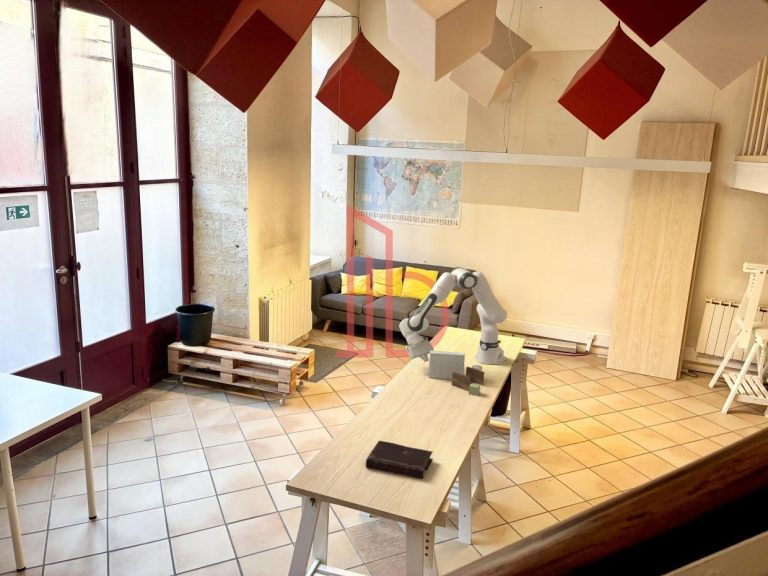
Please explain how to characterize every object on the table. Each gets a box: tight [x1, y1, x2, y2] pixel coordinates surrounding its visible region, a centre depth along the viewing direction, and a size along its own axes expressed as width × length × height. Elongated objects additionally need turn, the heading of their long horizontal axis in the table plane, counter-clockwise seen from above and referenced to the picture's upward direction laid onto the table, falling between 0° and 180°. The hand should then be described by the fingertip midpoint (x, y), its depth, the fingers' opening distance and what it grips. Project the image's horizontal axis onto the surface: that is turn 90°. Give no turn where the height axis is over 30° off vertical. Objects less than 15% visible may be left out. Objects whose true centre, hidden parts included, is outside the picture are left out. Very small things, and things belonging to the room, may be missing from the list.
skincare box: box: [428, 350, 466, 380], centre depth 361 cm, size 21×6×16 cm, turn 84°
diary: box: [365, 440, 434, 480], centre depth 259 cm, size 19×25×5 cm
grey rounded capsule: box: [471, 364, 483, 371], centre depth 362 cm, size 6×6×8 cm
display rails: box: [451, 366, 485, 392], centre depth 351 cm, size 15×12×8 cm
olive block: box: [468, 382, 481, 397], centre depth 339 cm, size 5×5×5 cm
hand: (426, 361), depth 371 cm, fingers closed
